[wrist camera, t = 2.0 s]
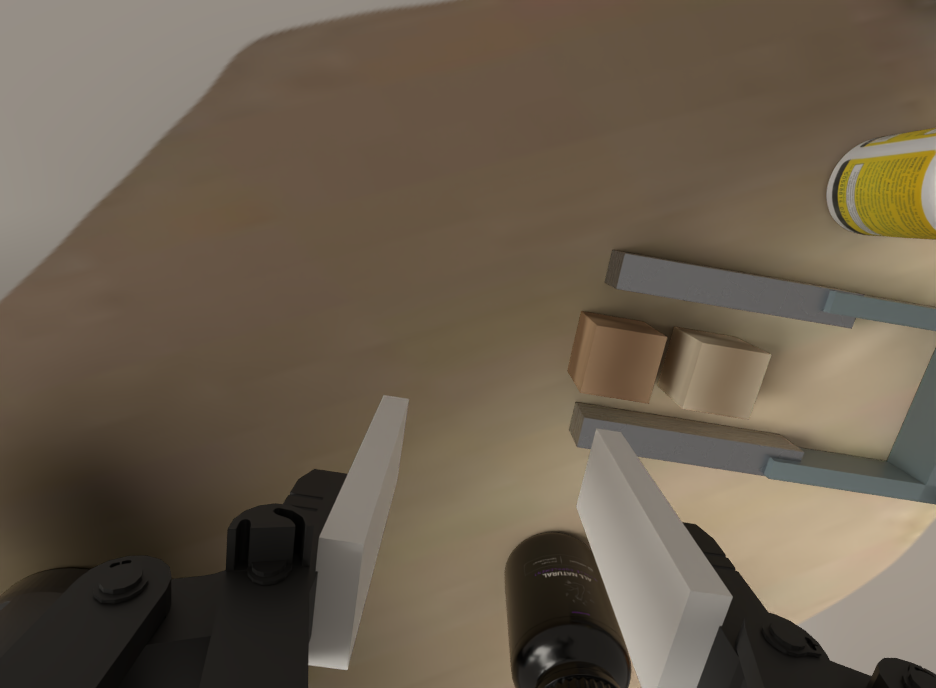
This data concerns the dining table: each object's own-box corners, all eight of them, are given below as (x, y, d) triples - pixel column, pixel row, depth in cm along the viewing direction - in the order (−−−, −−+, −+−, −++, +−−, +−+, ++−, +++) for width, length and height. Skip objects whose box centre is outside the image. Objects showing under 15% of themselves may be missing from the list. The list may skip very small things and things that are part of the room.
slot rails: (569, 429, 33) (577, 447, 31) (612, 249, 30) (625, 253, 28) (770, 461, 34) (793, 480, 31) (833, 287, 31) (864, 294, 28)
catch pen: (742, 455, 34) (768, 478, 31) (801, 284, 30) (836, 292, 28) (896, 479, 34) (936, 504, 31) (970, 313, 31) (1022, 324, 28)
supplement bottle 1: (570, 512, 35) (621, 664, 23) (612, 583, 36) (679, 758, 25) (485, 553, 36) (493, 719, 24) (529, 620, 37) (557, 806, 26)
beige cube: (656, 384, 32) (682, 408, 28) (673, 326, 31) (702, 342, 27) (715, 394, 33) (748, 419, 29) (734, 336, 31) (771, 354, 28)
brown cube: (567, 370, 32) (580, 392, 28) (580, 310, 31) (597, 325, 27) (627, 380, 32) (648, 403, 28) (642, 321, 31) (667, 337, 27)
